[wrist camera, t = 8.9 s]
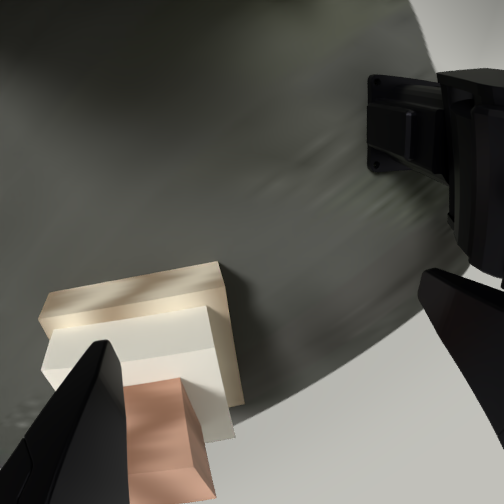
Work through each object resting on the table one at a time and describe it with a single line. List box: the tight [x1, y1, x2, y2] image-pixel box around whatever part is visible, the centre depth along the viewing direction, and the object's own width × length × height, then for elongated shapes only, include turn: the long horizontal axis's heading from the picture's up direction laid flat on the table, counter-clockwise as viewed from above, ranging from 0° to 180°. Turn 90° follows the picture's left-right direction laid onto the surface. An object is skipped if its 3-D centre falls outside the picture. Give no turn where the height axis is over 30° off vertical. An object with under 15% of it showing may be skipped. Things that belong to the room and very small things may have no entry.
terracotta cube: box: [123, 377, 216, 504], centre depth 15 cm, size 6×6×6 cm
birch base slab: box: [38, 261, 245, 407], centre depth 22 cm, size 12×12×4 cm
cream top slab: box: [41, 306, 235, 443], centre depth 19 cm, size 10×10×4 cm
